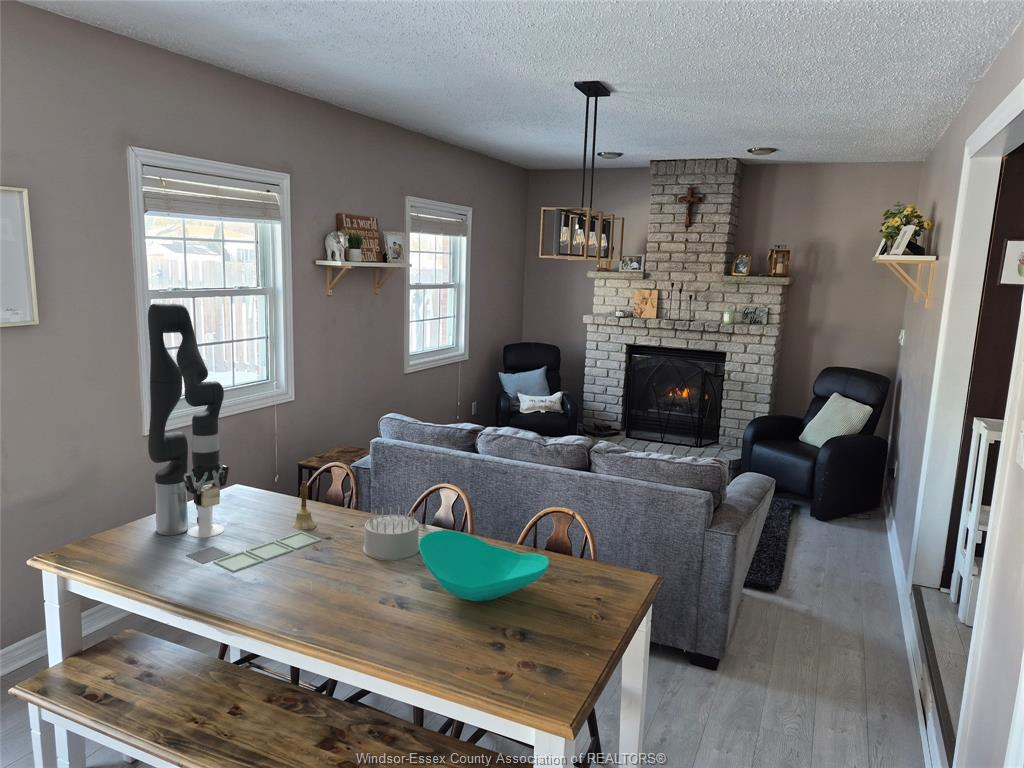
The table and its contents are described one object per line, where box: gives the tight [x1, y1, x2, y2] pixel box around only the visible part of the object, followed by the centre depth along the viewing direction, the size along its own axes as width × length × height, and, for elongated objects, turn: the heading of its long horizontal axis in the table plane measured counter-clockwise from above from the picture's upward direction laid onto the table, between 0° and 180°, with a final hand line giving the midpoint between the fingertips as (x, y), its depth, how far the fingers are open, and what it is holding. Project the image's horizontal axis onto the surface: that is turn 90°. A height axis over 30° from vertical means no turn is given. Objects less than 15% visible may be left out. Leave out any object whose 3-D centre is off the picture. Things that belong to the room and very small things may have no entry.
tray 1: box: [212, 550, 264, 573], centre depth 212 cm, size 10×10×1 cm
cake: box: [362, 505, 420, 562], centre depth 227 cm, size 18×18×13 cm
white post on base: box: [186, 482, 225, 539], centre depth 234 cm, size 12×11×15 cm
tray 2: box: [245, 540, 294, 561], centre depth 221 cm, size 10×10×1 cm
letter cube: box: [200, 484, 221, 508], centre depth 212 cm, size 5×5×5 cm
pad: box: [185, 546, 231, 565], centre depth 216 cm, size 9×9×1 cm
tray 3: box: [275, 531, 322, 551], centre depth 230 cm, size 10×10×1 cm
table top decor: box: [418, 529, 550, 602], centre depth 198 cm, size 40×28×13 cm
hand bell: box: [291, 480, 317, 530], centre depth 242 cm, size 8×8×16 cm
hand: (206, 502), depth 213 cm, fingers closed on letter cube, 5 cm apart
